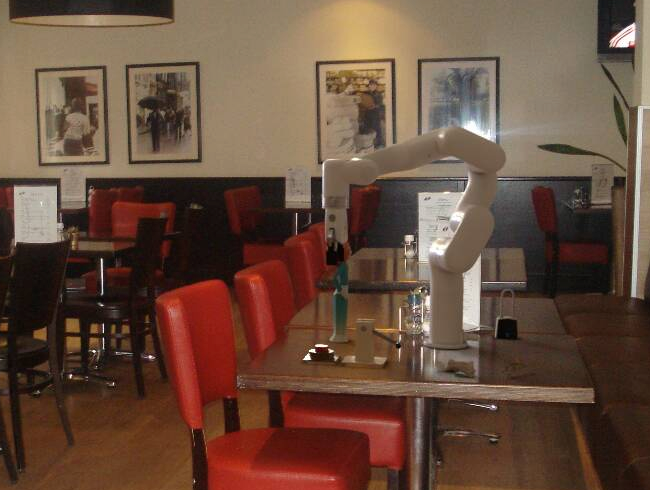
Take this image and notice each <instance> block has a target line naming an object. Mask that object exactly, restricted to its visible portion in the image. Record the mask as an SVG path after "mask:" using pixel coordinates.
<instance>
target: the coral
mask: <svg viewBox="0 0 650 490" xmlns="http://www.w3.org/2000/svg"><path fill="white" fill-rule="evenodd" d="M474 364H475V363H474V360H468V361H465V360H464V361H462V360H460V361H459V360H455V359H453V358H448V361H447V362H446V363H445V362H442V361H440V360H437V359H436V360H435V361H434V365H435V366H434V367H435V368H436V371H438V372H441V373H446V372H447V373H448V372H451V371H452V372H455V373H462V374H464V375H466V376H467V377H468V378H472V377H474V376H475V374H476V372H477V370H476V369H475V367H474V366H475V365H474Z"/></svg>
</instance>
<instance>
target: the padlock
mask: <svg viewBox="0 0 650 490" xmlns="http://www.w3.org/2000/svg"><path fill="white" fill-rule="evenodd" d="M506 292H510V293H511V315H510V316H507V315H503V314H504V313H503V311H504V295H505V293H506ZM515 299H516V297H515V292H514V290H513V289H511V288H504V289H503V290H502V291H501V294H500V306H499V307H500V308H499V310H500V311H499V316H497V317H496V320H495V331H494V338H495V339H499V340H519V338H520V337H519V320H518V318H517V317H516V315H515V308H516V307H515V305H516V304H515V303H516V301H515Z"/></svg>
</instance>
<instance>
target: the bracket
mask: <svg viewBox="0 0 650 490" xmlns="http://www.w3.org/2000/svg"><path fill="white" fill-rule="evenodd" d="M362 320H364V321H362ZM375 320H376V319H374V318H357V320H356V321H355V326H354V328H355V329H354V330H355V332H354V333H355V334H354V337H355V338H354V355H345V357H344V358H343V359H342V360H341V364H351V365H368V366H369V365H370V366H385V364H386V363H387V362H386V361H388V357H382V356H380V357H379V356H375V334H373V333H372V332H373V329H375V325H376V324H375Z"/></svg>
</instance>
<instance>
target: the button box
mask: <svg viewBox="0 0 650 490" xmlns="http://www.w3.org/2000/svg"><path fill="white" fill-rule="evenodd" d="M308 351H309V352H308V354H306V356H304V357H303V358H302V362H320V363H321V362H322V363H337V362H338V361H339V359H340V358H341V357H342V356H341V355H339V354H335V350H333V349H330V348H329V352H315V348H312V349H310V350H308Z"/></svg>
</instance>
